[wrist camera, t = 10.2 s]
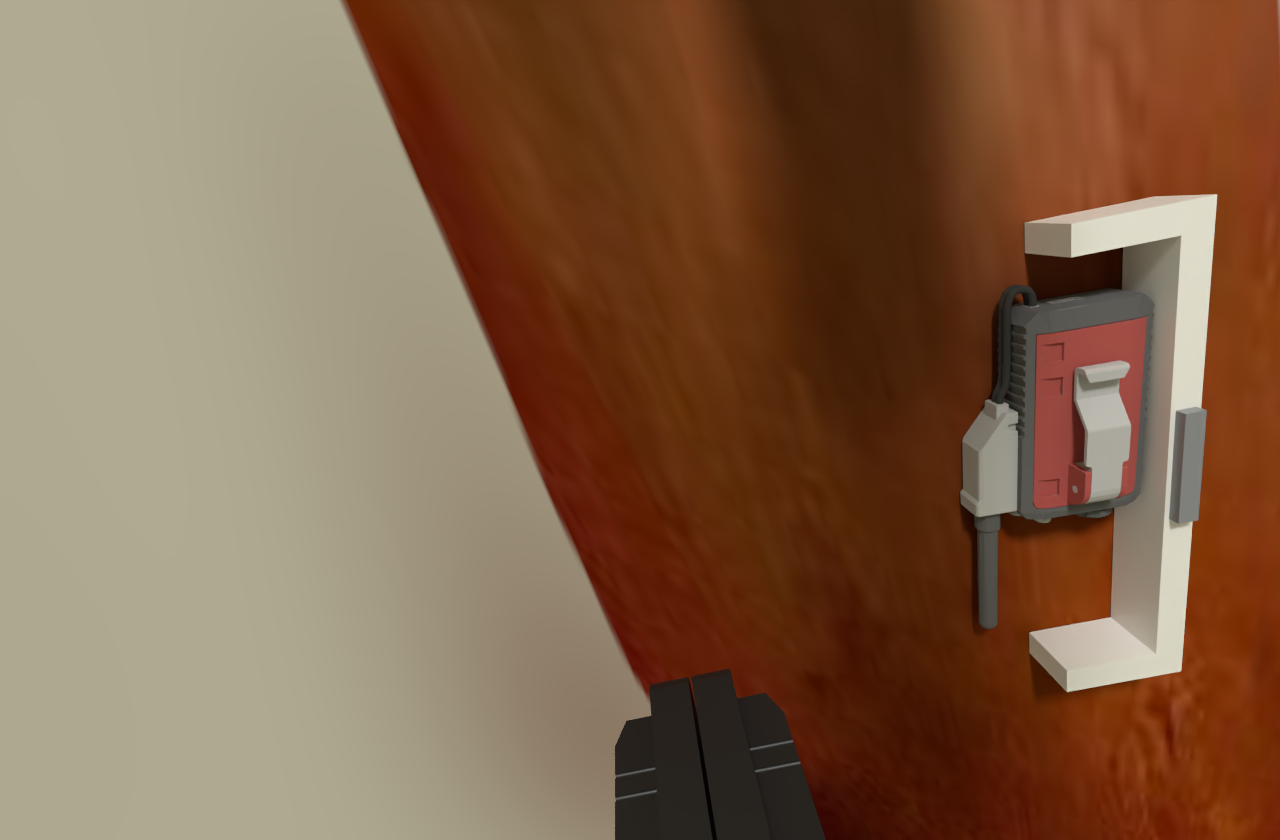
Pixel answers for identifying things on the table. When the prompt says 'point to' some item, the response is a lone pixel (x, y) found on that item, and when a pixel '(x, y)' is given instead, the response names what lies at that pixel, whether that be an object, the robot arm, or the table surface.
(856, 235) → the table surface
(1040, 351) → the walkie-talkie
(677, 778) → the robot arm
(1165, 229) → the white c-shaped bracket
